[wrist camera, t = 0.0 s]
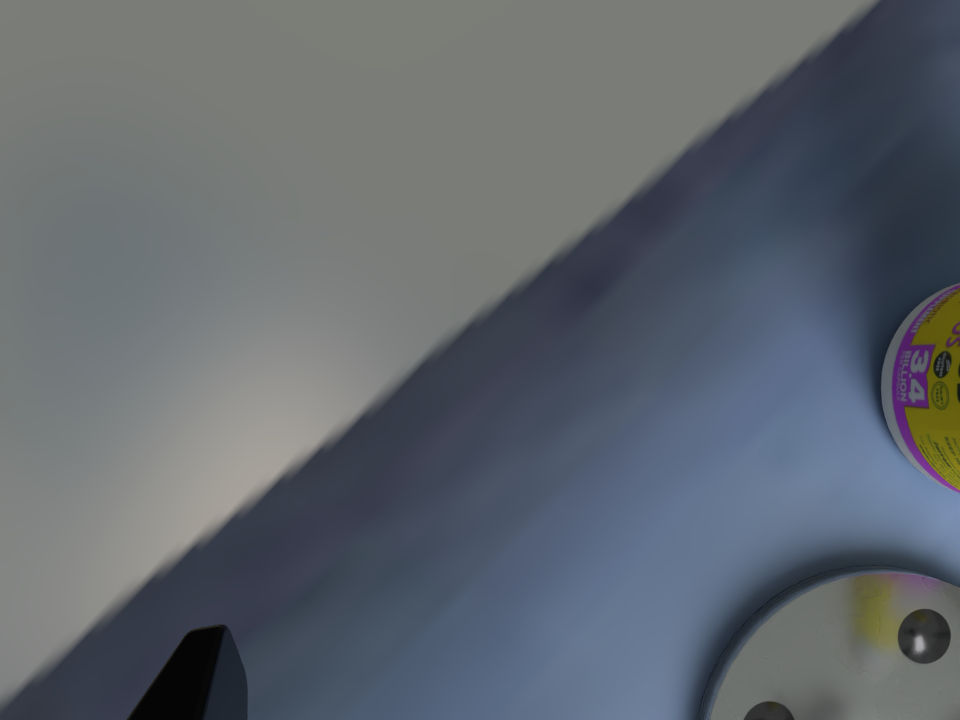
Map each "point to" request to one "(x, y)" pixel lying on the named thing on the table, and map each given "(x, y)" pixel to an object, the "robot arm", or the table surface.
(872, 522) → the table surface
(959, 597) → the rosette plate
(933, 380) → the supplement bottle
